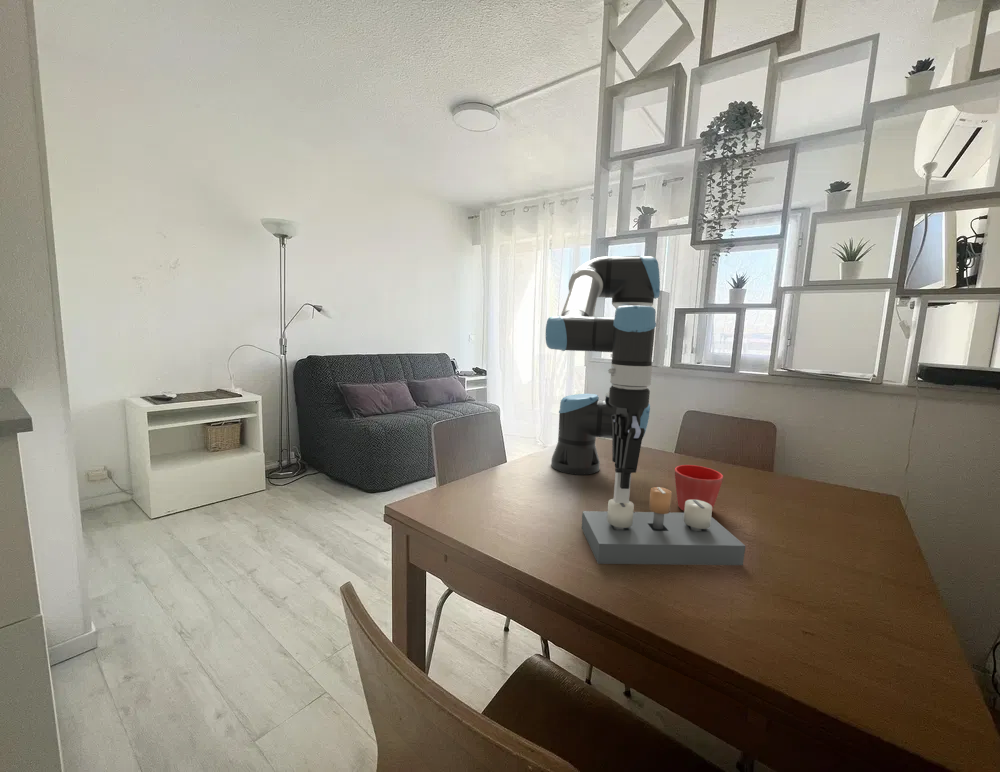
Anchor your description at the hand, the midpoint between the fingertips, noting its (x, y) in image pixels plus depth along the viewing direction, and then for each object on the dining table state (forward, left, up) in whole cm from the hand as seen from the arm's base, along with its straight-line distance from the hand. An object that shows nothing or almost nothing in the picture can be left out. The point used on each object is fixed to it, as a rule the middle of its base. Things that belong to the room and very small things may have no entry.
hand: (621, 501), depth 85 cm
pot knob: (0, +8, -6) cm, 10 cm away
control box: (0, +8, -10) cm, 12 cm away
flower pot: (-18, +25, -10) cm, 32 cm away
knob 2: (0, +16, -8) cm, 18 cm away
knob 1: (0, 0, -8) cm, 8 cm away
